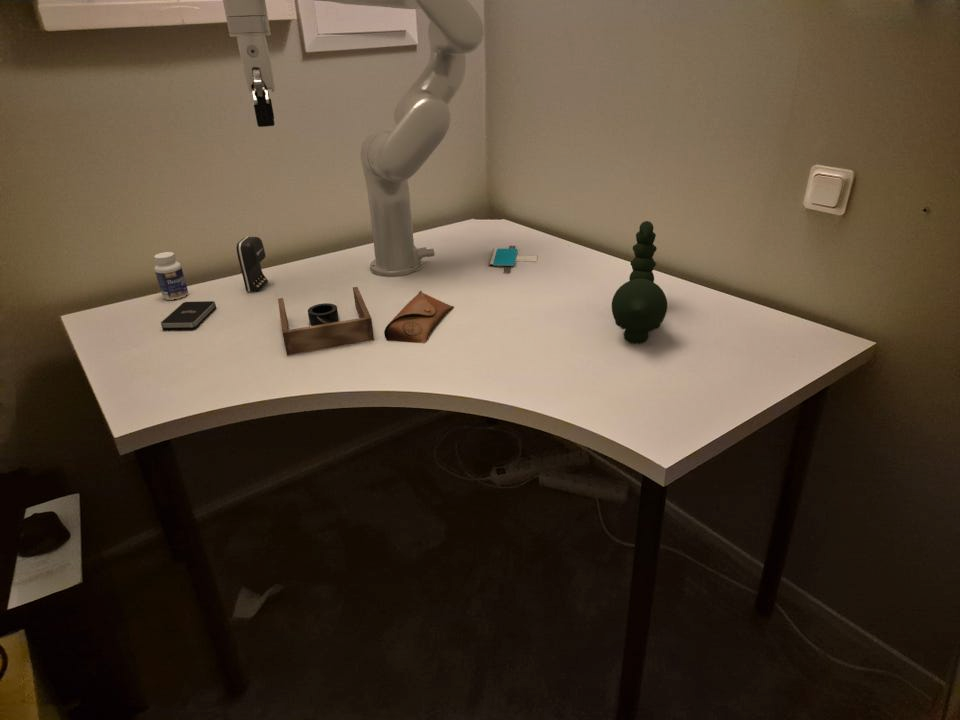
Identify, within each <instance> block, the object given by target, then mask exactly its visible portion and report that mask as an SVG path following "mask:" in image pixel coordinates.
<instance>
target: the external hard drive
mask: <svg viewBox="0 0 960 720" xmlns="http://www.w3.org/2000/svg"><path fill="white" fill-rule="evenodd" d="M215 309H216V310H217V305H216V301H215V300H209V301H208V300H207V301H205V300H203V301H201V300H199V301H194V300H193V301H184V302H182V303H181V304H180V305H178V306H177V307H176V308H175V309H174V310H173V311H171V313H170V314H168V315H167V316H166V317H165V318H164V319H163V320H161V321H160V326H161V328H162V330H163V331H166V332H167V330H168V332H169V331H171V330H175V331H195V330H197V329H198V328H199V327H200V326H201V325H202V324H203V323H204V322H205V321H206V320H207V319H208V318H209V317H210V316H211V315H212V314H213V313H214V312H215V311H216V310H215ZM214 310H215V311H214ZM213 311H214V312H213ZM212 312H213V313H212ZM211 313H212V314H211ZM210 314H211V315H210ZM209 315H210V316H209ZM208 316H209V317H208ZM207 317H208V318H207ZM206 318H207V319H206ZM205 319H206V320H205ZM204 320H205V321H204ZM203 321H204V322H203ZM201 323H202V324H201ZM200 324H201V325H200Z"/></svg>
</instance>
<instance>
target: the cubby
mask: <svg viewBox="0 0 960 720" xmlns="http://www.w3.org/2000/svg"><path fill="white" fill-rule="evenodd" d="M352 293H353V299H354V306H355V310H356V312H357V315H358V318H353V319H346V320H341V321H340V320H339V321H338V322H333V323H327V324H321V325H315V326H311V325H310V326H304V327H298V328H291V329H290V328H289V323H288V316H287V312H286V307H285V302H284V301H285V300H284V298H283V297H280V298H277V303H278V310H279V318H280V319H279V320H280V326H281V334H282V338H283V344H284V349H285V354H286V356H291V355H298V354H304V353H310V352H315V351H321V350H325V349H326V350H327V349H332V348H336V347H337V348H338V347H342V346H343V347H344V346H348V345H350V346H351V345H355V344H361V343H366V342H372V341H375V336H374V335H375V334H374V326H373V321H372V316H371V314H370V311H369V308H368V307H367V305H366V302H365V300H364V298H363V296H362V294H361V292H360V289H359V286H353V287H352Z"/></svg>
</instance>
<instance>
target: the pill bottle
mask: <svg viewBox="0 0 960 720" xmlns="http://www.w3.org/2000/svg"><path fill="white" fill-rule="evenodd" d="M154 260H155V263H156V265H155V266H154V273H155V276H156V279H157V283H158V286H159V288H160V292H161V296H162V298H163V300H166V301H175V300H174V299H177V300H181V299H183V298H185V297H187V296H188V295H189V290H188V286H187V282H186V279H185V278H186V277H185V274H184V271H183V268H182V265H181V263H180V262H179V261H176V255H175V253H174V251H173V252H171V251H165V252H160V253H157V254H155V255H154ZM186 295H187V296H186ZM182 297H183V298H182ZM180 298H181V299H180Z"/></svg>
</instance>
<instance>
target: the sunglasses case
mask: <svg viewBox="0 0 960 720" xmlns="http://www.w3.org/2000/svg"><path fill="white" fill-rule="evenodd" d="M454 308H455V307H454V305H450V304H447V303H445V302H443V301H441V300H439V299H437V298H434V297H433V296H431V295H428V294H426V293H424V292H423V291H422V290H420V291H419V292H418V293H417V294H416V295H415V296H414V297H413V298H412V299H411V300H410V301H409V302H408V303H406V305H404V307H403V308H402V309H401V310H400V311H399V312H398V313H397V314H396V315H395V316H394V318H393V319H392V320H391V321H389V323H388V324H387V325H386V327H385V329H384V332H383V334H384V338H385V340H386V341H388V342H398V343H399V342H400V343H414V344H416V343H417V344H426V343H427V342H428V340H429V339H430V336H431V335H432V333H433V332H434V330H435V329H436V328H437V326H438V325H439V324H440V323H441V321H442V320H443V319H444V318H445V317H446V316H447V314H449V312H451V311H452V310H453V309H454Z"/></svg>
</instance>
